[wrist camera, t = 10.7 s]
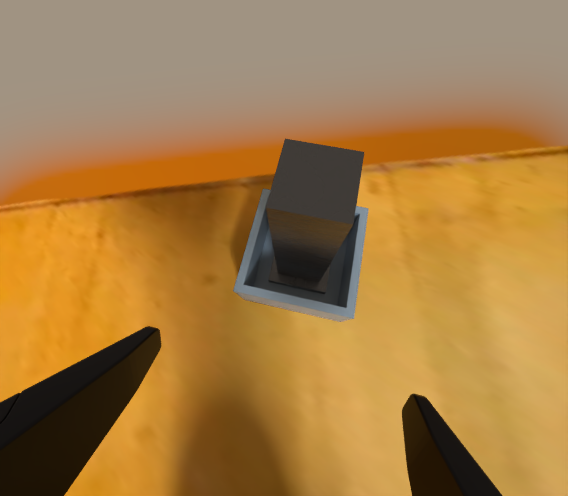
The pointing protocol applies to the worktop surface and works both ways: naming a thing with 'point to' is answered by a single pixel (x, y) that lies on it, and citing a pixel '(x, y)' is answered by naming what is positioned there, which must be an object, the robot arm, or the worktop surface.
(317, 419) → the worktop surface
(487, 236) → the worktop surface
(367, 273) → the worktop surface
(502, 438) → the worktop surface
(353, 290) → the box
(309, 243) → the dark square pedestal
